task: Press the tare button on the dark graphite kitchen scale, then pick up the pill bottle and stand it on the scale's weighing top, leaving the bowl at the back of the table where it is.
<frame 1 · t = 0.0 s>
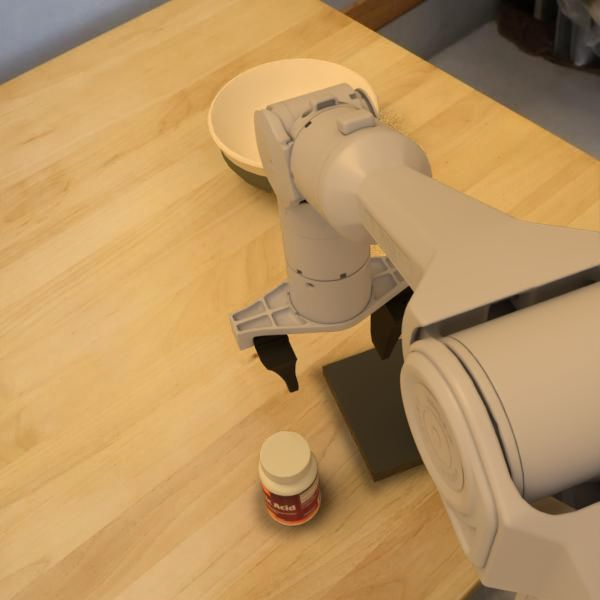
hand: (335, 365, 67), 11 cm above the table, tool pointing down, fingers open, 7 cm apart
bowl: (298, 167, 99), on the table
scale: (398, 407, 77), on the table
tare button: (450, 410, 73), point 4 cm above the table, slide at 0.1 cm
pill bottle: (293, 502, 73), on the table
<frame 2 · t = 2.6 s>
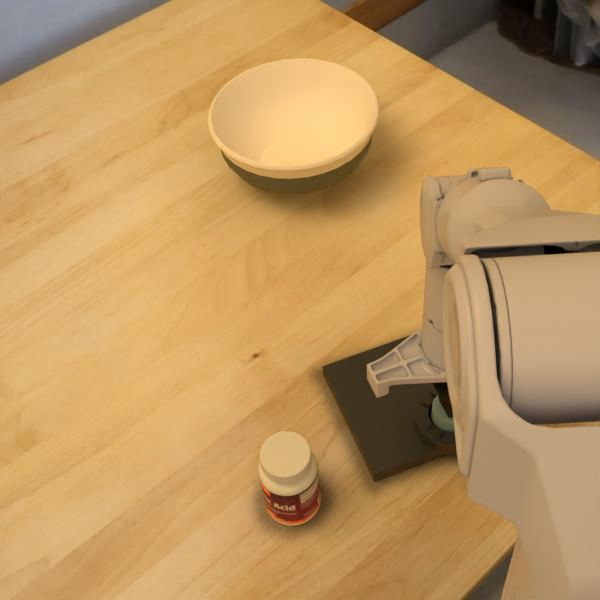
hand: (451, 406, 72), 4 cm above the table, tool pointing down, fingers closed, pressing on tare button
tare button: (450, 412, 73), point 3 cm above the table, slide at -0.1 cm, touching gripper
everything else where it was.
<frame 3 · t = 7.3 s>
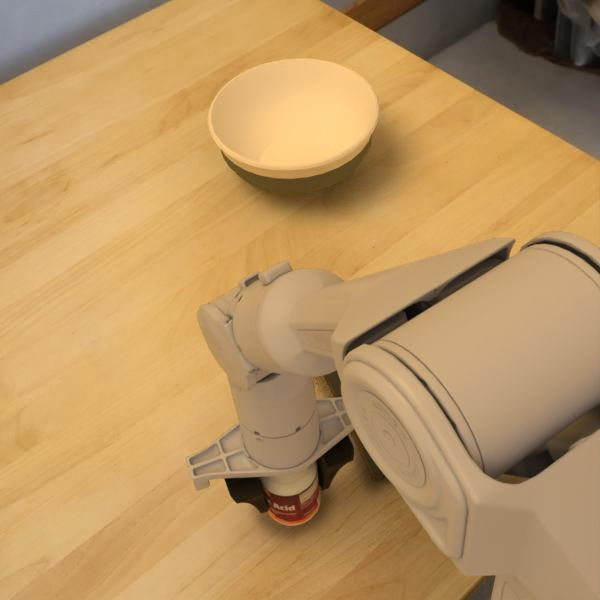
hand: (291, 490, 71), 2 cm above the table, tool pointing down, fingers closed on pill bottle, 5 cm apart
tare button: (450, 410, 73), point 4 cm above the table, slide at 0.1 cm
pill bottle: (293, 502, 73), on the table, touching gripper
everything else where it was.
when the fingers open (5 cm above the table, at t = 11.3 s): pill bottle stays where it is, resting on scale.
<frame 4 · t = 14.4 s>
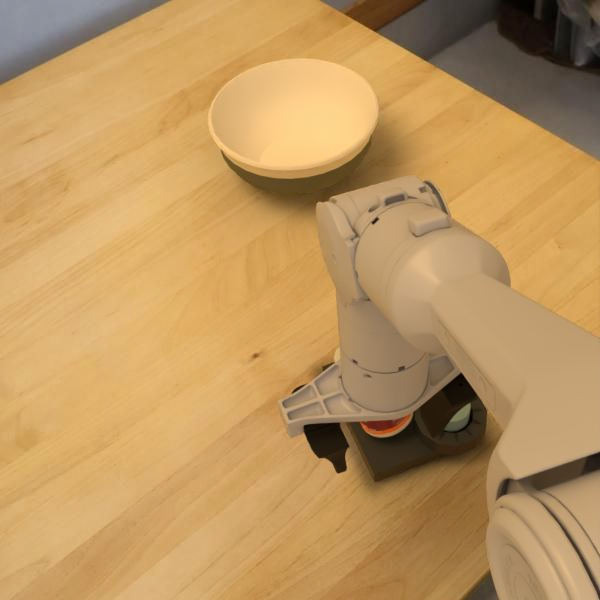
hand: (384, 443, 64), 10 cm above the table, tool pointing down, fingers open, 7 cm apart
pill bottle: (388, 419, 74), point 2 cm above the table, touching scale
everything else where it was.
at the end: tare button pushed in 1.0 cm at the most during the clip, back to where it started at the end; pill bottle 0.3 cm from the target spot on the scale, point 2.1 cm above the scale's base; bowl moved 0.2 cm from its start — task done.
